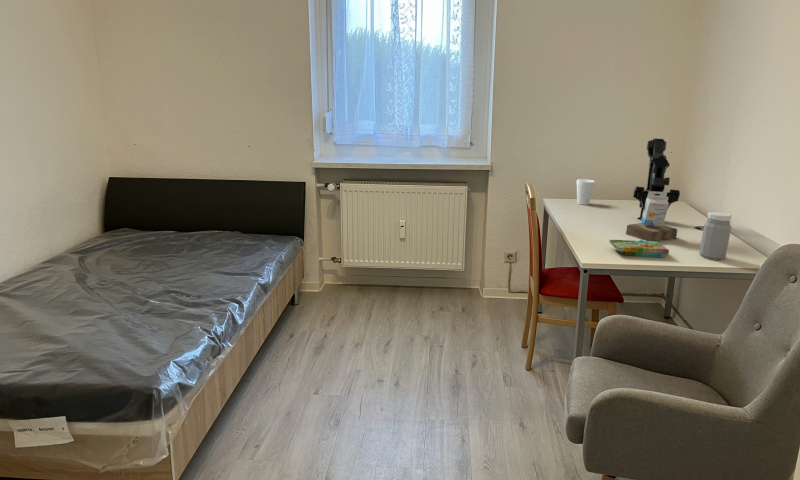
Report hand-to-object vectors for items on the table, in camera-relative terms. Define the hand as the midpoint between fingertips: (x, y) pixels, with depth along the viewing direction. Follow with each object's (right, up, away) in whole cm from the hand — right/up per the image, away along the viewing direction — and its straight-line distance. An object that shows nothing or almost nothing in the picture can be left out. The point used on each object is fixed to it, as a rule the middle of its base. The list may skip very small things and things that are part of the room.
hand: (655, 209), depth 269 cm
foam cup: (-11, +6, +68) cm, 70 cm away
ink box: (0, -6, +3) cm, 7 cm away
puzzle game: (-16, -19, -22) cm, 33 cm away
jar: (+13, -20, -24) cm, 34 cm away
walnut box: (0, -12, +5) cm, 13 cm away
